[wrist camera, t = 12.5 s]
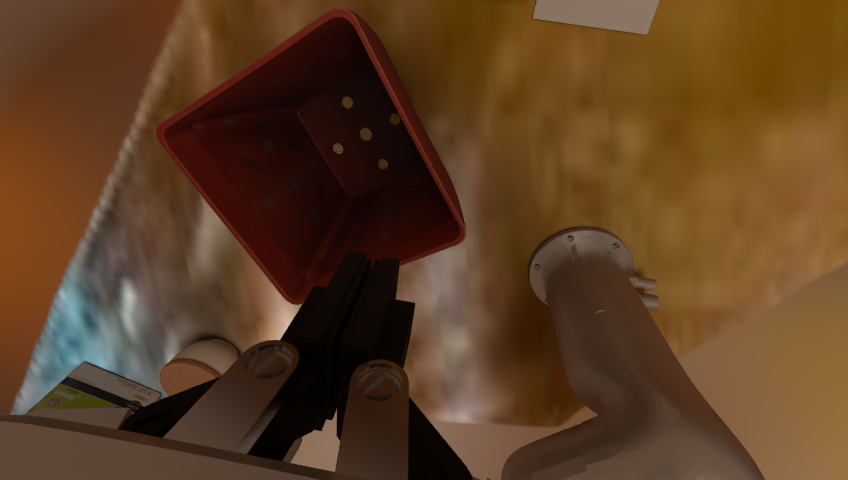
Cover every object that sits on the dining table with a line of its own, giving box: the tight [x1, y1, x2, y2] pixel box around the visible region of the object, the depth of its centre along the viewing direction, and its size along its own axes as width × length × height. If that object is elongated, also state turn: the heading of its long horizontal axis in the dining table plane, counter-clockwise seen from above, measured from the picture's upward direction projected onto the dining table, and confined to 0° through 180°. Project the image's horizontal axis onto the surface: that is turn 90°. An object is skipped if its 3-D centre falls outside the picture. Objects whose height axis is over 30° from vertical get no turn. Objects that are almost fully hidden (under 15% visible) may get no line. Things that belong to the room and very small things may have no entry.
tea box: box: [26, 362, 161, 414], centre depth 70 cm, size 15×10×15 cm, turn 63°
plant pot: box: [156, 7, 466, 305], centre depth 39 cm, size 19×19×17 cm
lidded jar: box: [159, 339, 238, 396], centre depth 63 cm, size 11×11×9 cm
